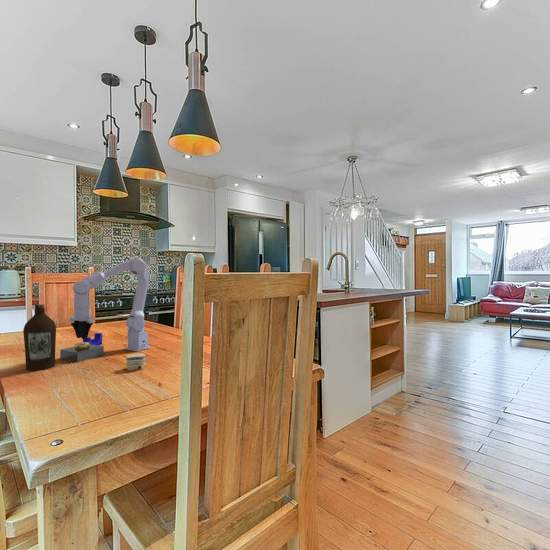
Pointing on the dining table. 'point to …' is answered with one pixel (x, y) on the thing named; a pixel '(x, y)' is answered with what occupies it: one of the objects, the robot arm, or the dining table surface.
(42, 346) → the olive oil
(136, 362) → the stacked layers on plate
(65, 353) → the block
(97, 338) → the blue angular block
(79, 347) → the brass pin
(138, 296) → the robot arm
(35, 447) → the dining table surface
